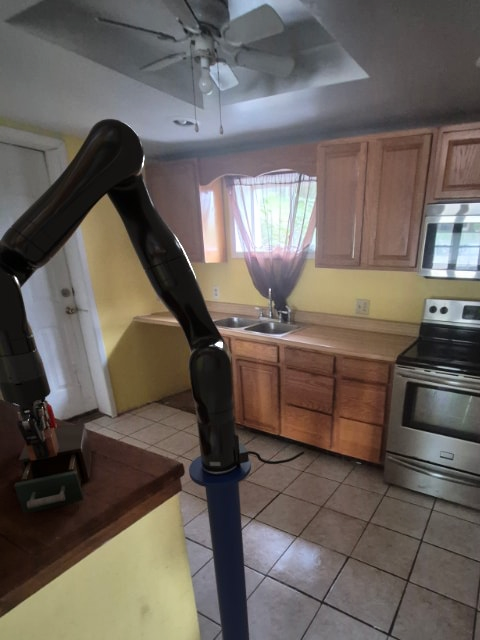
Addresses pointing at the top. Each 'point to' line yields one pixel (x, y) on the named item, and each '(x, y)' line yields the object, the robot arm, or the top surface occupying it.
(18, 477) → the top surface
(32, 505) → the drawer
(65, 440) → the cabinet
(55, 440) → the block
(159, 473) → the top surface
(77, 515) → the top surface
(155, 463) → the top surface
